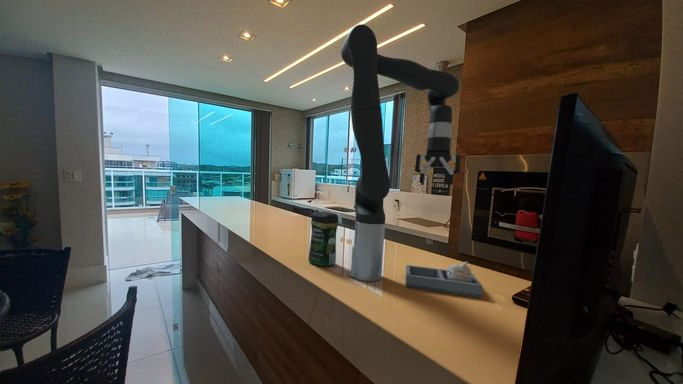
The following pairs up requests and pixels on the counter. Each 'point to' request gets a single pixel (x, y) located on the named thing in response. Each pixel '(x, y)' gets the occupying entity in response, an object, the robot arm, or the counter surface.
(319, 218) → the coffee jar
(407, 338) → the counter surface
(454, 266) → the garlic bulb
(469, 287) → the tray
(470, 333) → the counter surface
